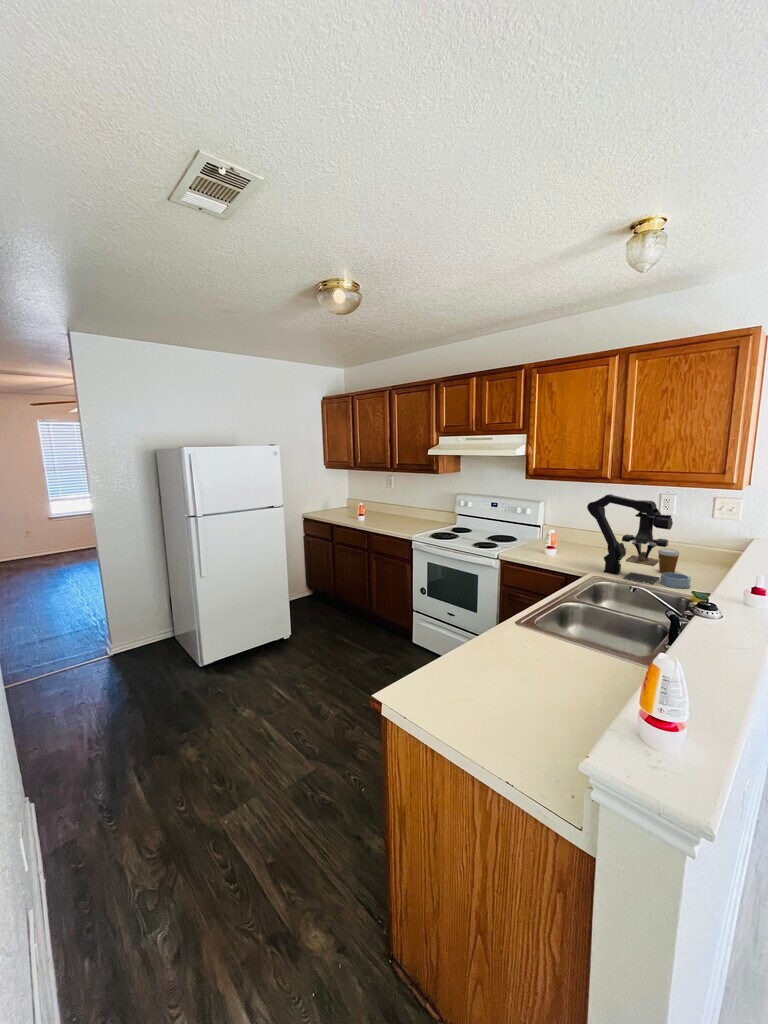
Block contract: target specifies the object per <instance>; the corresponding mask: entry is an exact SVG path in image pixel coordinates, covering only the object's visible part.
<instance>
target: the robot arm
mask: <svg viewBox="0 0 768 1024" xmlns="http://www.w3.org/2000/svg"><path fill="white" fill-rule="evenodd" d="M609 504H615V505H617V506H622V507H623V506H624V507H626V508H632V509H634V510H636V511H638V513H637V514H635V517H638V518H639V522H638V523H639V524H638V525H639V526H638V531H637V533H636V535H633V534H624V535H623V536H622V537H621V542H619V541H618V540H617V538H616V536H615V533H614V532H613V530H612V528H611V525H610V524H609V521H608V519H607V517H606V509H605V507H607V506H608V505H609ZM586 508H587V511H588V512H589V513H590V515H591V516H592V517H593V518H594V519H595V520H596V523H597V525H598V527H599V529H600V532H601V533H602V535H603V537H604V540H605V541H606V544H607V554H606V555H605V556H604V557H603V561H604V562H605V563H604V570H603V573H607V574H613V575H618V574H619V573H621V571H622V564H621V560H622V559H623V558H624V557H625V556H626V555H627V549H626V548H625V545H624V543H625V542H626V543H630V542H631V541H632V543H631V544H632V545H633V546H634V547H635V548H636V551H637V556H638V555H639V554H640V553H641V552H642V544H643V545H647V544H648V545H647V547H646V548H647V549H646V551H645V552H646V558H647V557H648V558H649V555H650V554H651V552H652V549H654V548H655V547H662V548H666V547H668V546H669V540H668V539H667V538H658V539H654V535H653V530H654V527H655V528H656V529H661V530H669V531H670V530H671V529H672V527H673V525H674V523H673V522H674V521H673V518H672V515H671V514H661V512H660V511H659V509H658V507H657V504H656V502H655V501H653V500H639V499H637V500H636V499H632V498H626V497H622V496H618V495H614V494H606V495H604V496H603V497H601V498H599V499H598V500H597V499H596V500H595V501H591V502H589V503H588V504H587V506H586Z"/></svg>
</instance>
